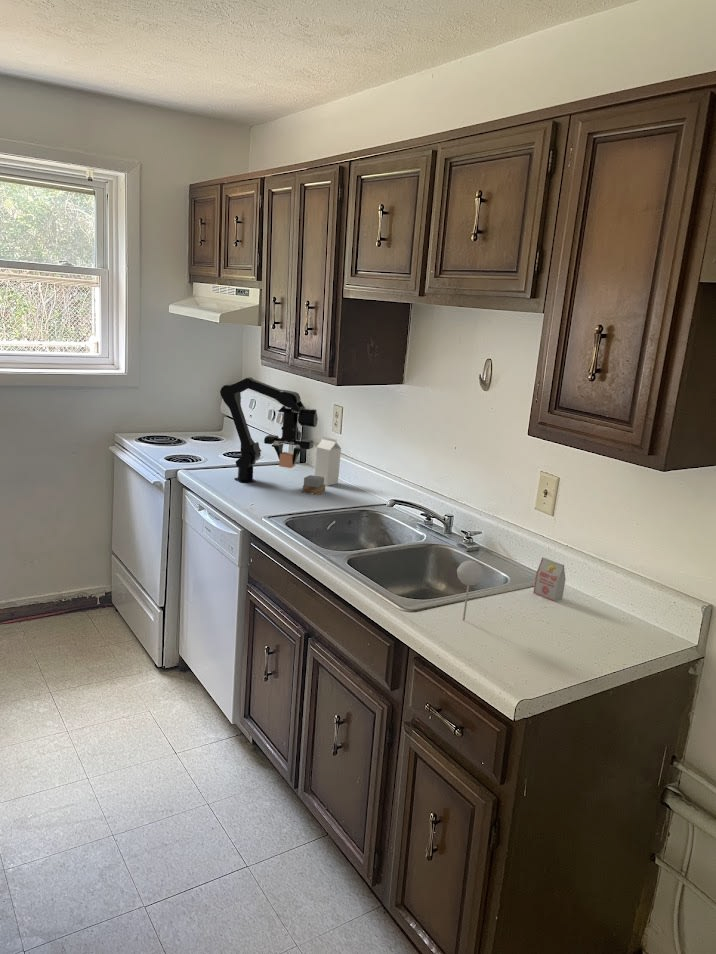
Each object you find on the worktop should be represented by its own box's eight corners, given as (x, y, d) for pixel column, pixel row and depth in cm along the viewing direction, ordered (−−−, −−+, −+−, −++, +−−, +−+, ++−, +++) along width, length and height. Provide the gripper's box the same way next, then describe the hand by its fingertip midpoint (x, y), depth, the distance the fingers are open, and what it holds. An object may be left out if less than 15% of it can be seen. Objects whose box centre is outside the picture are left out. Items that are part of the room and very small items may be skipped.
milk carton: (327, 486, 291) (330, 440, 287) (313, 482, 295) (317, 437, 291) (338, 483, 296) (341, 438, 292) (324, 480, 301) (328, 435, 296)
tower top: (303, 485, 278) (304, 477, 277) (309, 482, 284) (310, 475, 283) (317, 487, 276) (318, 480, 276) (323, 484, 282) (324, 477, 281)
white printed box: (541, 590, 197) (546, 556, 194) (562, 599, 192) (568, 564, 190) (533, 593, 194) (538, 558, 192) (554, 602, 189) (559, 566, 187)
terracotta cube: (279, 466, 281) (279, 453, 280) (283, 464, 286) (284, 451, 285) (291, 468, 280) (292, 455, 279) (295, 465, 285) (296, 453, 284)
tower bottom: (302, 493, 278) (302, 485, 277) (308, 489, 285) (308, 482, 284) (319, 495, 276) (320, 488, 276) (325, 491, 283) (325, 484, 282)
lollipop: (474, 615, 176) (481, 558, 172) (478, 626, 170) (486, 566, 166) (449, 614, 175) (456, 556, 172) (452, 624, 169) (460, 564, 166)
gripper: (319, 424, 285) (316, 462, 288) (275, 419, 289) (272, 456, 292) (310, 428, 274) (307, 468, 278) (264, 422, 278) (262, 461, 282)
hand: (287, 463), depth 283 cm, fingers closed on terracotta cube, 5 cm apart
